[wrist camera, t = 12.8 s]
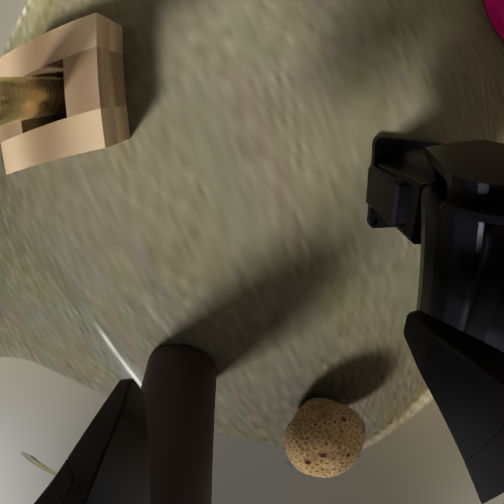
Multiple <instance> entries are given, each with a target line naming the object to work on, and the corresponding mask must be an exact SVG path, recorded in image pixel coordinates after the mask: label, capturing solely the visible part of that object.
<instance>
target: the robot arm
mask: <svg viewBox="0 0 504 504" xmlns="http://www.w3.org/2000/svg"><path fill="white" fill-rule="evenodd" d="M380 141H381V142H382V146H381V147H380V148H379V147H378V143H379V142H380ZM366 202H367V203H368V205H369V206H368V216H367V222H368V224H369V225H370V226H371V227H372V228H385V227H396V228H397V229H398V230H399V231H400V232H402V233H403V234H404V235H405V236H406V237H407V238H408V239H409V240H410V241H411V242H412V243H413V244H421V259H420V276H419V289H418V300H417V310H416V311H413V312H411V313H409V314H408V315H407V319H406V323H405V328H404V336H405V339H406V341H407V343H408V346H409V348H410V350H411V353H412V355H413V357H414V360H415V362H416V364H417V367H418V369H419V371H420V373H421V375H422V377H423V379H424V381H425V383H426V385H427V386H428V388H429V390H430V392H431V394H432V396H433V398H434V400H435V401H436V403H437V405H438V407H439V409H440V411H441V413H442V415H443V417H444V419H445V421H446V423H447V425H448V427H449V429H450V431H451V433H452V436H453V438H454V440H455V442H456V444H457V446H458V448H459V451H460V453H461V455H462V457H463V459H464V461H465V465H466V467H467V469H468V471H469V474H470V476H471V479H472V481H473V483H474V486H475V489H476V491H477V494H478V496H479V499H480V501H481V503H482V504H483V503H485V502H487V501H489V500H491V499H493V498H495V497H497V496H498V495H500V494H502V493H503V492H504V144H502V143H498V142H493V141H488V140H476V141H467V142H459V143H451V144H443V143H436V142H429V141H420V140H411V139H400V138H389V137H376V138H375V139H374V140H373V143H372V165H371V166H370V167H369V170H368V186H367V199H366ZM375 218H376V221H375V222H373V223H372V221H373V219H375ZM34 504H151V503H150V480H149V434H148V424H147V414H146V402H145V396H144V393H143V391H142V390H141V389H140V387H139V386H138V385H137V383H136V382H135V381H134V380H133V379H122V380H120V381H119V383H118V384H117V386H116V387H115V388H114V390H113V391H112V393H111V394H110V396H109V397H108V399H107V400H106V401H105V403H104V404H103V406H102V407H101V409H100V410H99V412H98V413H97V415H96V416H95V418H94V419H93V420H92V422H91V424H90V425H89V427H88V428H87V429H86V431H85V432H84V434H83V435H82V437H81V439H80V440H79V441H78V443H77V444H76V446H75V448H74V449H73V451H72V452H71V454H70V455H69V457H68V459H67V460H66V461H65V463H64V464H63V466H62V467H61V469H60V470H59V472H58V473H57V475H56V476H55V478H54V479H53V480H52V482H51V483H50V484H49V486H48V487H47V488H46V489H45V490H44V492H43V493H42V494H41V496H40V497H39V498H38V499H37V501H36V502H35V503H34Z"/></svg>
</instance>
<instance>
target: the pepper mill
mask: <svg viewBox="0 0 504 504" xmlns="http://www.w3.org/2000/svg"><path fill="white" fill-rule="evenodd" d="M484 3H485V8H486V11H487V14H488V17H489V19H490V21H491V23H492V25H493V27H494V28H495V30H496V31H497V33H498V34H499V36H500V37H501V38H502V39H503V40H504V0H484Z"/></svg>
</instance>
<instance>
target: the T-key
mask: <svg viewBox="0 0 504 504" xmlns="http://www.w3.org/2000/svg"><path fill="white" fill-rule="evenodd" d="M63 113H67V112H66V102H65V91H64V78H61V77H0V126H2V125H6V124H10V123H14V122H19V121H24V120H28V119H34V118H39V117H44V116H50V115H56V114H63Z"/></svg>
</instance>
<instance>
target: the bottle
mask: <svg viewBox="0 0 504 504" xmlns="http://www.w3.org/2000/svg"><path fill="white" fill-rule="evenodd" d="M216 374H217V370H216V367H215V365H214V362H213V361H212V360H211V359H210V358H209V357H208V356H207V355H206V354H204V353H202V352H200V351H199V350H197V349H194V348H191V347H188V346H180V345H171V346H164V347H161V348H159V349H156V350H155V351H154V352H153V353H152V354H151V355H150V357H149V360H148V363H147V367H146V371H145V375H144V378H143V382H142V386H141V390H142V391H143V393H144V396H145V402H146V414H147V424H148V434H149V480H150V503H151V504H211V495H212V460H213V459H212V458H213V434H214V411H215V392H216Z"/></svg>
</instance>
